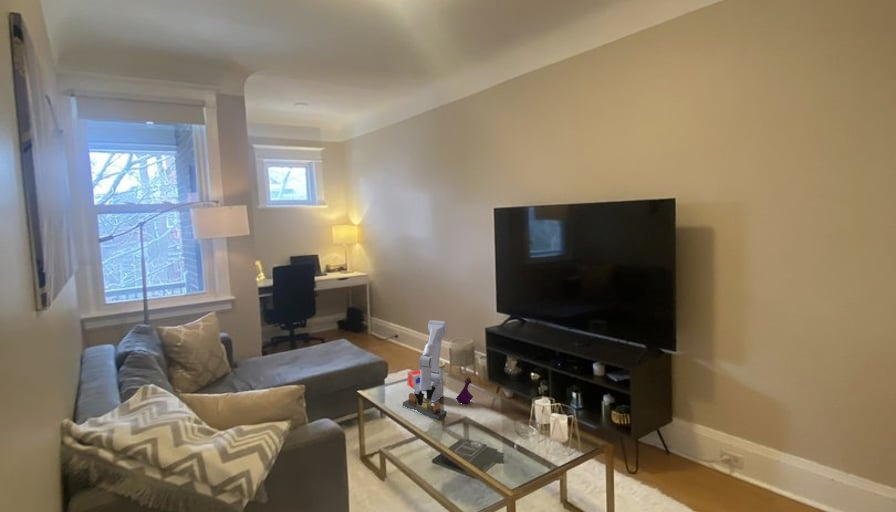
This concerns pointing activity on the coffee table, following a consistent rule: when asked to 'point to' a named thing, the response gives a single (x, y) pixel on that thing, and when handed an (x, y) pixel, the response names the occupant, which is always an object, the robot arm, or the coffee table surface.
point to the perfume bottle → (465, 392)
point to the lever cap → (425, 403)
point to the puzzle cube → (414, 379)
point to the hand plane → (431, 412)
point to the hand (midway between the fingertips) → (424, 402)
